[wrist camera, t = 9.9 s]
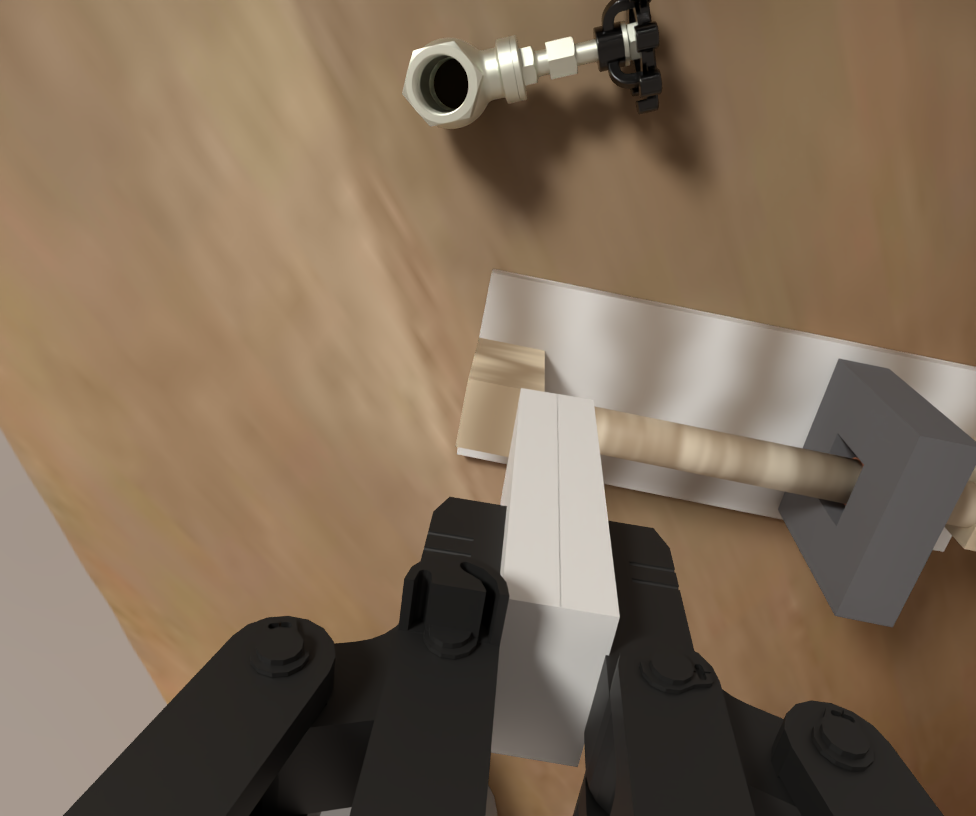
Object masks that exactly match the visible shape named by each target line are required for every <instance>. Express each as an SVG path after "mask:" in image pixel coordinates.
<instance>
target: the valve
mask: <svg viewBox="0 0 976 816" xmlns="http://www.w3.org/2000/svg"><path fill="white" fill-rule="evenodd" d="M650 2H651V0H611V1H610V2H609V3H608V5H607V6H606V7H605V9H604V11H603V14H602V26H599V27H595V28H594V29H593V36H594V39H593V40H589V41H585V42H581V43H576V44H574V42H573V37H567V38H563V39H559V40H555V41H550V42H546V43H545V45H546V49H543V50H539V51H535V50H533V48H532V46H529V47H525V48H521V49H519V46H518V41H517V37H516V35H513V36H509V37H505V38H500V39H497V40H496V47H494V48H491V49H486V50H478V49H477V48H475V47H474V46H473V45H471V44H470V43H468V42H466V41H464V40H461V39H457V38H441V39H437V40H434V41H432V42H430V43H428V44H427V45H426V46H424V47H423V48H422V49H418V50H414V51H413V53H412V57H411V60H410V64H409V68H408V71H407V75H406V79H405V84H404V88H403V93H402V94H403V95H404V97H405V98H406V99H407V100H408V102H409V103H410V104H411V105H412V106H413V107H414V109H415V110H416V111H417V112H418V113H419V114H420V116H421V117H422V118H423V119H424V120H425V121H426V122H427V123H428V124H429V125H430V126H437V127H440V128H444V129H457V128H462V127H465V126H467V125H469V124H471V123H472V122H474V121H475V120H476V119H477V118H478V117H479V116H480V115H481V114H482V113H483V111H484V110H485V108H486V107H487V105H488V103H489V102H490V101H492V100H496V99H500V98H506V101H507V103H508V104H510V103H514V102H519V101H523V100H527V92H526V85H529V84H534V83H538V79H539V77H541V76H544V75H549V74H550V75H551V79H556V78H560V77H564V76H569V75H573V74H577V73H578V68H577V66H580V65H584V64H588V63H593V62H597V64H598V69H599V71H600V72H602V71H607V70H608V73H609V76H610V78H611V80H612V81H613V82H614V83H615V84H616V85H617V86H619V87H622V88H627V89H630V91H631V95H632V96H638V95H640V98H644V100H639V101H636V108H637V112H638V114H643V113H648V112H652V111H657V110H658V107H659V103H658V94H661V93H662V80H661V74H660V70H659V69H658V68H657V67H656V59H655V49H657V48H658V47H659V31H658V26H657V23H656V22H655V21H653V22H652V21H651V15H650V7H649V3H650ZM626 10H627V17H628V24H627V25H625V21H620V22H616V23H614V18H615V16H616V15H617V14H618V13H619V12H622V11H626ZM451 59H456V60H457V61H459V62H460V63H461V65H462V66H463V67H464V69H465V71H466V73H467V77H468V85H469V87H468V93H467V96H466V99H465V100H464V102H463V103H462V105H461V106H460V107H459V108H457V109H452V108H449V107H447V106H445V105H444V104H443V103H442V102H441V101H440V100H439V99H438V97H437V95H436V93H435V90H434V77H435V74H436V72H437V70H438V68H439V67H440V66H441V65H442V64H443V63H444V62H446V61H448V60H451ZM630 60H633V66H634V71H635V73H631V74H625V73H623V72H622V71H621V69H620V67H624V66H629V65H630Z"/></svg>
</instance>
